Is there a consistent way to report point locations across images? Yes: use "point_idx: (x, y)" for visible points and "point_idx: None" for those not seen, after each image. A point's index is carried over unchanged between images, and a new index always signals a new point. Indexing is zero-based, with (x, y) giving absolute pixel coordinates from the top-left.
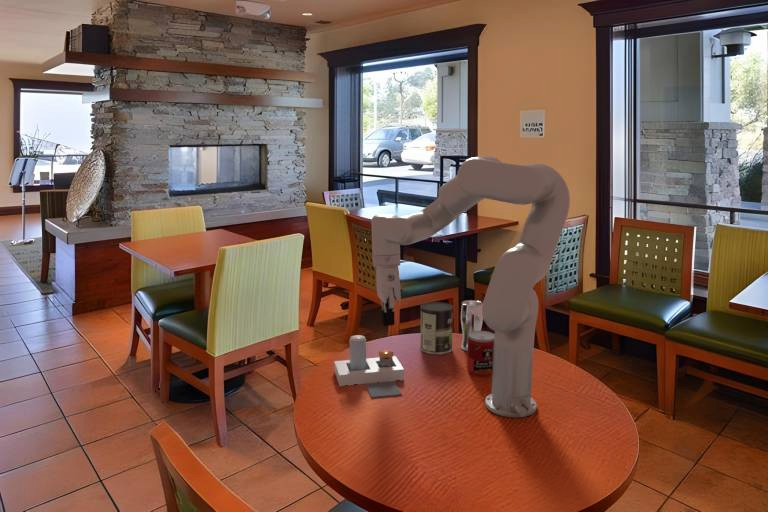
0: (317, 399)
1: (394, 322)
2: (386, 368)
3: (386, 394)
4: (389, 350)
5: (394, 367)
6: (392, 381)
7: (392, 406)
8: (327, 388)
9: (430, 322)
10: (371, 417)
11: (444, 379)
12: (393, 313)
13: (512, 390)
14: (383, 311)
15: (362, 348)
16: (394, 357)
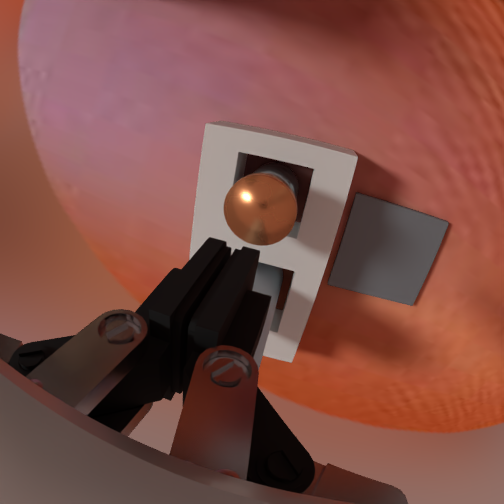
0: (336, 394)
1: (257, 258)
2: (316, 217)
3: (426, 264)
4: (239, 184)
5: (321, 183)
6: (354, 200)
7: (478, 277)
8: (292, 363)
9: None
10: (480, 338)
11: (407, 20)
12: (227, 320)
13: None
14: (175, 391)
15: (263, 344)
16: (219, 133)
